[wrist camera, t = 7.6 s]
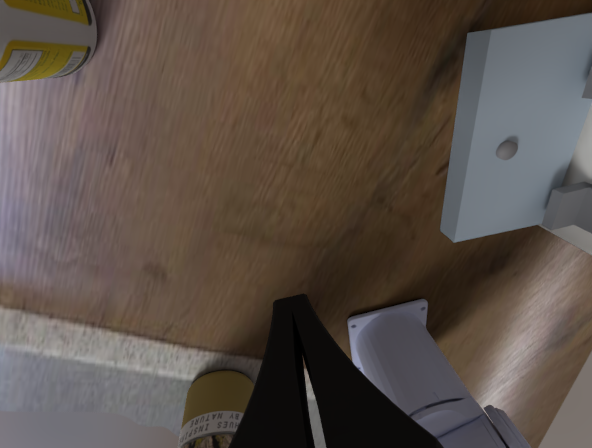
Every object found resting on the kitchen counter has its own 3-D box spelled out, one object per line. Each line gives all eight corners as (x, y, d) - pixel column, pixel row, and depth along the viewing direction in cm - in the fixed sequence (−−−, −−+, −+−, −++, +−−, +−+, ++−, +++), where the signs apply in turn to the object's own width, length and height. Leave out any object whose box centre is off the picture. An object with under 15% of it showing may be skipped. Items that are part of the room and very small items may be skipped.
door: (522, 209, 25) (552, 224, 23) (436, 227, 25) (457, 245, 22) (582, 13, 18) (634, 6, 15) (462, 33, 17) (497, 29, 15)
